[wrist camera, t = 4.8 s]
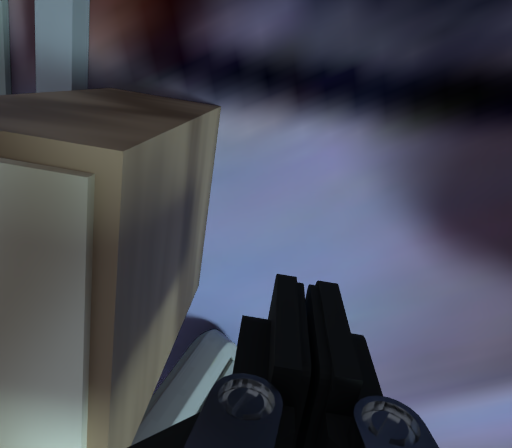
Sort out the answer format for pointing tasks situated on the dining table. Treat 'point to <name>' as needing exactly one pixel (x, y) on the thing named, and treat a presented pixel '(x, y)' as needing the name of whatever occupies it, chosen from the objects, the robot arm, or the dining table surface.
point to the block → (95, 257)
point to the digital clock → (188, 383)
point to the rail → (61, 45)
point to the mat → (4, 50)
